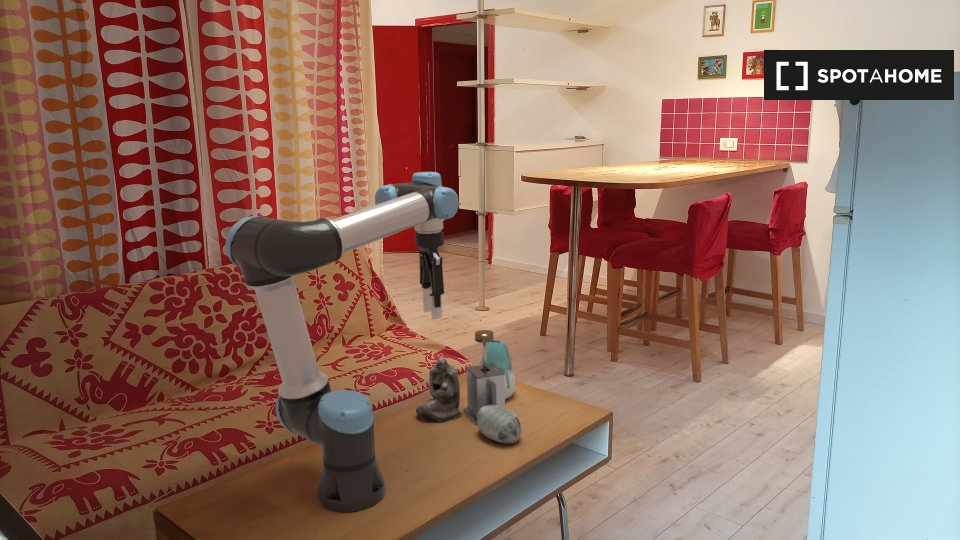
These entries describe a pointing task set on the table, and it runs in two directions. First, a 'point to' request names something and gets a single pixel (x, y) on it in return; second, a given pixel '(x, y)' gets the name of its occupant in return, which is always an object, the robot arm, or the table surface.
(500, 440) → the striped grey egg shape
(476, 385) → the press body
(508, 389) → the vase
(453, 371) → the figurine
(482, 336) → the plunger
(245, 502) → the table surface
